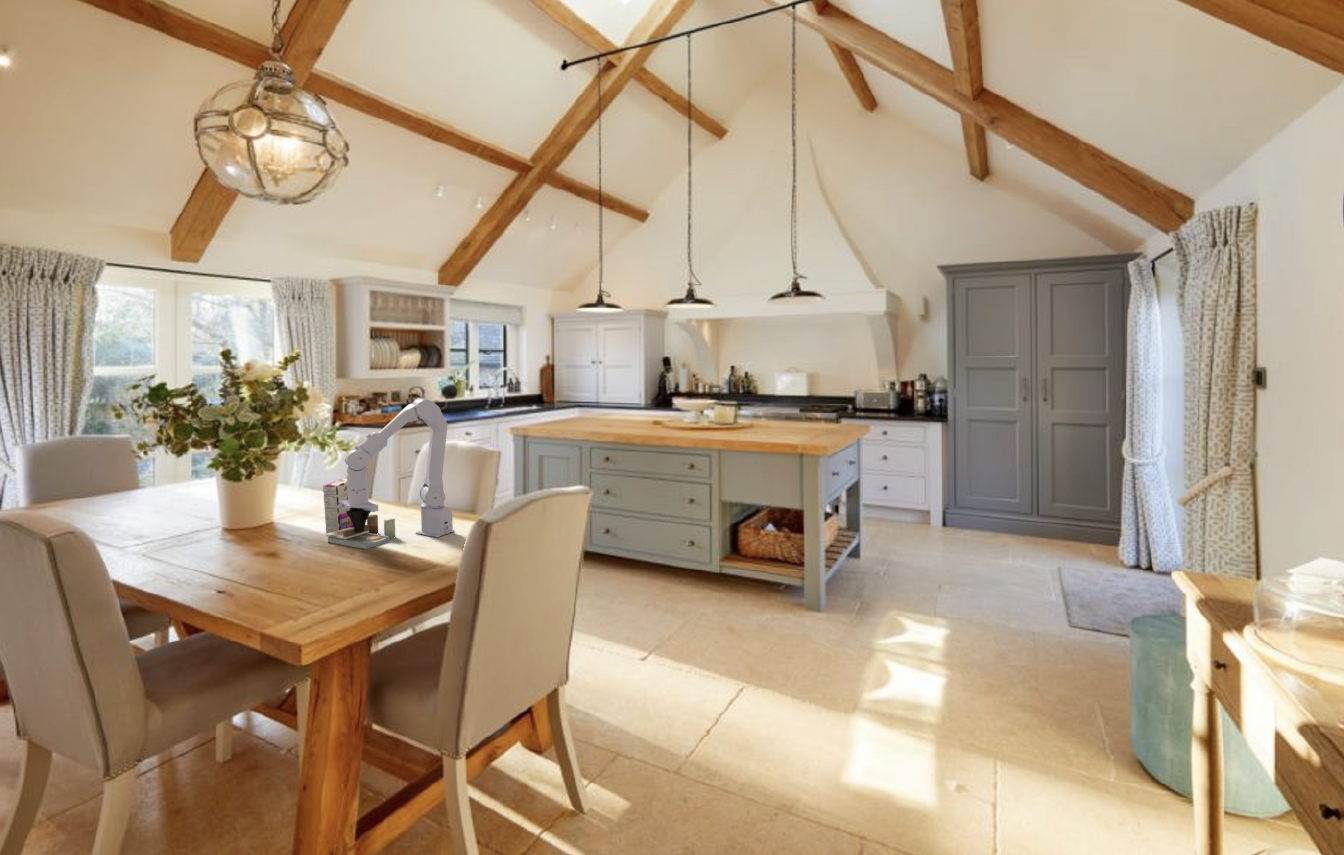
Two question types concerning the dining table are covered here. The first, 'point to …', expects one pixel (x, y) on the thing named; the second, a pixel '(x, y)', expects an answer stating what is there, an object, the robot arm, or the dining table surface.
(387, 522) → the sage peg
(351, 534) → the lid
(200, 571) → the dining table surface
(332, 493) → the candy bar box
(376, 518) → the walnut peg
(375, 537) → the board
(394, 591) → the dining table surface
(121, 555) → the dining table surface
